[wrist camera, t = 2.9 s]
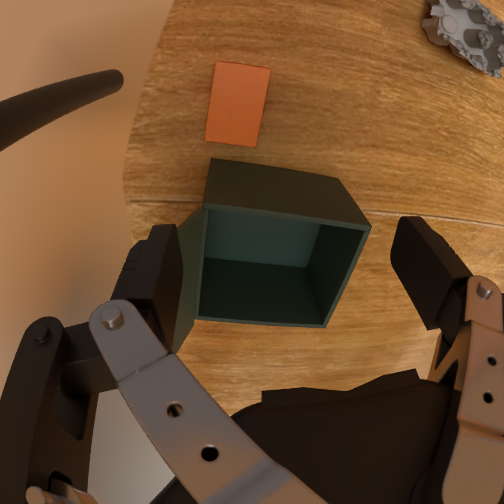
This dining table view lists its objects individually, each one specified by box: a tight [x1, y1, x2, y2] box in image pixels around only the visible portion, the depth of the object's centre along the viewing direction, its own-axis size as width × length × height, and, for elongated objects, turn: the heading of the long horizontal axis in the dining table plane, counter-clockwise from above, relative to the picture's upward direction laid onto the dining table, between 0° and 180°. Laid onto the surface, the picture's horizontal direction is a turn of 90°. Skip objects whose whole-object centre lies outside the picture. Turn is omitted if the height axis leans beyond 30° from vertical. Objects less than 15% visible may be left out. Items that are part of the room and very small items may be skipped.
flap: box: [172, 208, 204, 354], centre depth 22 cm, size 6×12×1 cm
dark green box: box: [194, 158, 372, 328], centre depth 29 cm, size 13×12×10 cm
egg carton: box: [421, 0, 504, 79], centre depth 19 cm, size 11×8×4 cm
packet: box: [205, 61, 271, 148], centre depth 24 cm, size 4×7×3 cm, turn 171°
